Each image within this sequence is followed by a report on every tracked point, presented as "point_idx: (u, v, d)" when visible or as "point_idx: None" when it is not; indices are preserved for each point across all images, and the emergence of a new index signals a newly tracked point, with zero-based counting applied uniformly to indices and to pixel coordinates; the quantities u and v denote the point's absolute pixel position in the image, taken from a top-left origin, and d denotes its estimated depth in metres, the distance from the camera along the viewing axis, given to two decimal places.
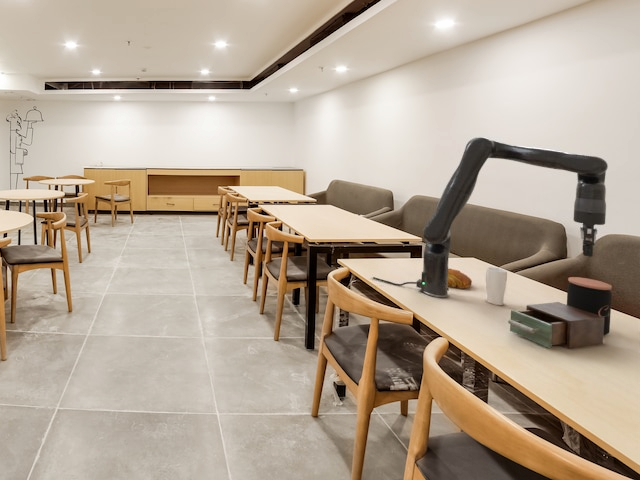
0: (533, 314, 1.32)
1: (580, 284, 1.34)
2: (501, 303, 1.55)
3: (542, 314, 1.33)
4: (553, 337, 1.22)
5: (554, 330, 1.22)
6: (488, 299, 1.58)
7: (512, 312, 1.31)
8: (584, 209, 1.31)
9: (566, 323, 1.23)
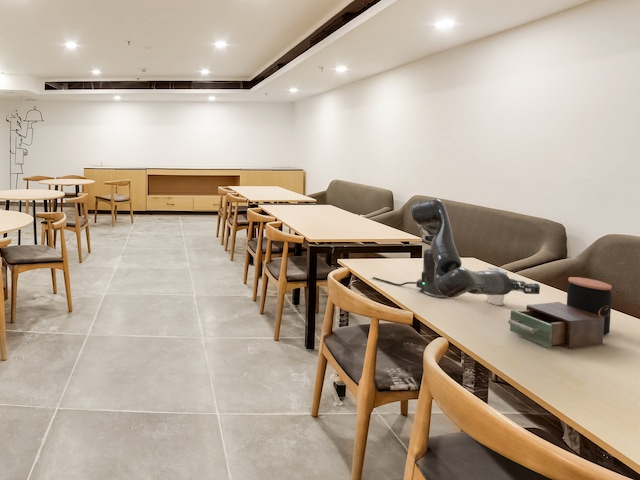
0: (533, 314, 1.32)
1: (580, 284, 1.34)
2: (501, 303, 1.55)
3: (542, 314, 1.33)
4: (553, 337, 1.22)
5: (554, 330, 1.22)
6: (488, 299, 1.58)
7: (512, 312, 1.31)
8: None
9: (566, 323, 1.23)
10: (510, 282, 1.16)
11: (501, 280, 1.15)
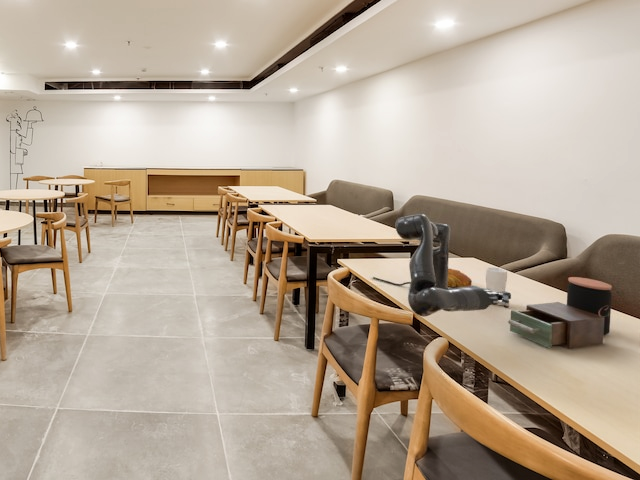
0: (533, 314, 1.32)
1: (580, 284, 1.34)
2: None
3: (542, 314, 1.33)
4: (553, 337, 1.22)
5: (554, 330, 1.22)
6: None
7: (512, 312, 1.31)
8: None
9: (566, 323, 1.23)
10: (487, 298, 1.18)
11: (476, 297, 1.17)
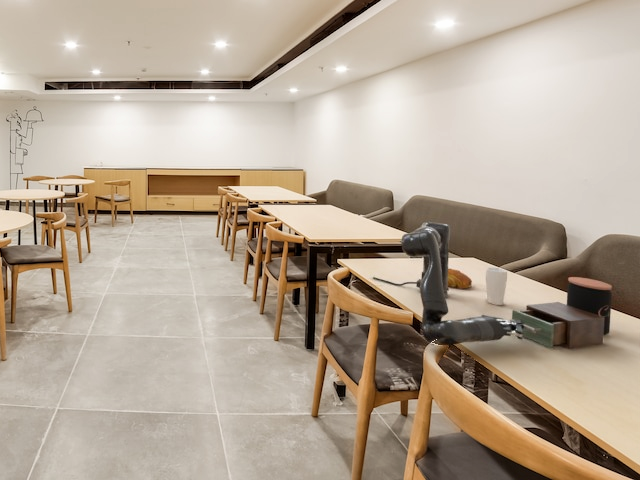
0: (535, 314, 1.32)
1: (580, 284, 1.34)
2: (501, 303, 1.55)
3: (543, 314, 1.33)
4: (555, 337, 1.22)
5: (555, 330, 1.22)
6: (488, 299, 1.58)
7: (514, 312, 1.32)
8: None
9: None
10: (501, 329, 1.20)
11: (490, 328, 1.19)
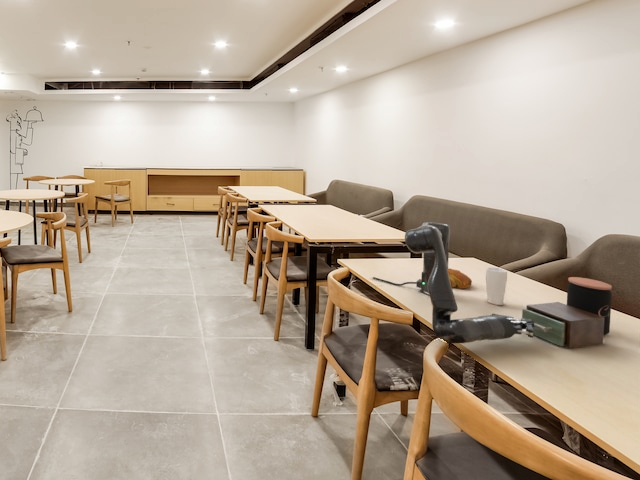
0: None
1: (580, 284, 1.34)
2: (501, 303, 1.55)
3: None
4: (565, 335, 1.23)
5: (566, 328, 1.23)
6: (488, 299, 1.58)
7: (524, 311, 1.33)
8: None
9: None
10: (511, 327, 1.21)
11: (501, 326, 1.20)
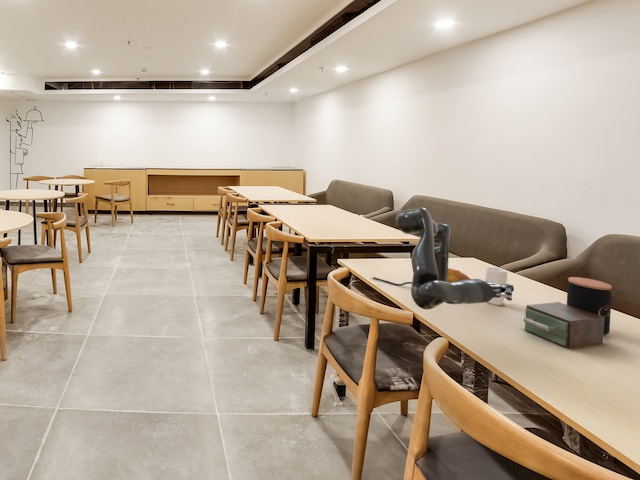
0: None
1: (580, 284, 1.34)
2: (501, 303, 1.55)
3: None
4: None
5: None
6: None
7: (527, 310, 1.33)
8: None
9: None
10: (490, 290, 1.18)
11: (479, 289, 1.18)
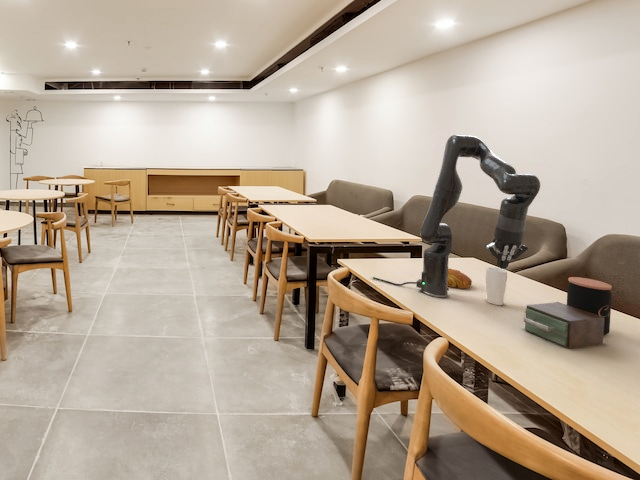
0: None
1: (580, 284, 1.34)
2: (501, 303, 1.55)
3: None
4: None
5: None
6: (488, 299, 1.58)
7: (527, 310, 1.33)
8: (496, 223, 1.32)
9: None
10: None
11: None
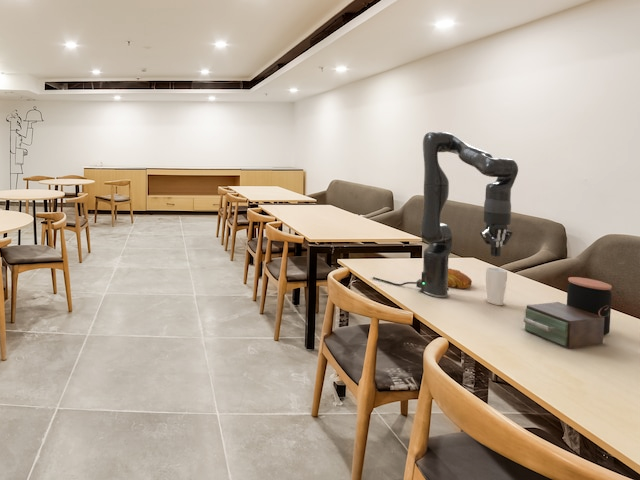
0: None
1: (580, 284, 1.34)
2: (501, 303, 1.55)
3: None
4: None
5: None
6: (488, 299, 1.58)
7: (527, 310, 1.33)
8: (486, 209, 1.37)
9: None
10: None
11: None
